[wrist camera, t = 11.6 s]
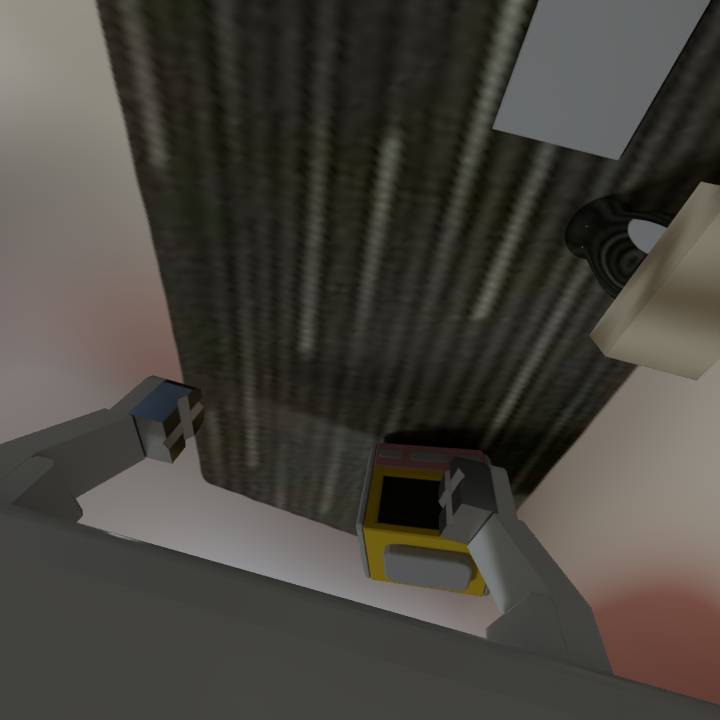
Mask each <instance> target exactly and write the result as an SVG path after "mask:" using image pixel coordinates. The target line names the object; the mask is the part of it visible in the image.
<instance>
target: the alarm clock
mask: <svg viewBox="0 0 720 720" xmlns="http://www.w3.org/2000/svg"><path fill="white" fill-rule="evenodd" d="M455 456H458V457H462V458H466V459H470V460H474V461H477V462H481V463H485V464H489V465H491V460H490V459H489V457H488V456H487V455H485V454H484V453H483V452H482V450H469V449H456V448H442V447H429V446H415V445H402V444H394V443H391V444H389V443H378V444H377V445H376V446H374V447H373V448H372V449H371V450H370V454H369V459H368V465H367V470H366V475H365V480H364V486H363V491H362V496H361V501H360V506H359V512H358V517H357V522H356V528H357V534H358V539H359V545H360V551H361V556H362V562H363V568H364V572H365V574H366V576H367V577H368V578H370V577H371V579H373V580H379V581H386V582H392V583H398V584H405V585H412V586H418V587H424V588H431V589H438V590H444V591H450V592H457V593H463V594H469V595H476V596H483V594H484V596H487V595H489V593H490V590H489V588H488V586H487V585H486V583H485V581H484V579H483V577H482V575H481V573H480V571H479V569H478V567H477V565H476V563H475V561H474V559H473V557H472V555H471V553H470V552H469V550H468V548H467V546H468V545H465V544H462V543H458V542H455V541H452V540H449V539H445V538H442V537H439V514H440V513H441V511H442V509H443V508H442V506H441V505H440V503H439V486H440V482H441V478H442V476H443V474H444V472H446V471H448V470H450V462H451V460H452V458H453V457H455Z"/></svg>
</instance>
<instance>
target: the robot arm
mask: <svg viewBox="0 0 720 720" xmlns="http://www.w3.org/2000/svg"><path fill="white" fill-rule="evenodd" d="M201 398H202V394H201V390H200V389H198V388H195V387H192V386H189V385H185V384H182V383H178V382H175V381H171V380H167V379H163V378H160V377H157V376H150V377H147V378H146V379H145V380H143V382H141V383H140V384H139V385H138V386H136V387H135V388H134V389H133V390H132V391H131V392H130V393H128V394H127V395H126V396H125V397H124V398H123V399H121V400H120V401H119V402H118V403H117V404H116V405H114V406H113V407H112V408H111V409H102V410H99V411H96V412H93V413H90V414H87V415H84V416H81V417H78V418H76V419H72V420H70V421H67V422H64V423H61V424H58V425H55V426H52V427H49V428H47V429H43V430H40V431H37V432H34V433H32V434H29V435H26V436H23V437H20V438H17V439H14V440H11V441H8V442H5V443H3V444H0V720H720V705H719V704H715V703H712V702H708V701H704V700H701V699H697V698H694V697H690V696H687V695H683V694H679V693H676V692H673V691H669V690H666V689H662V688H659V687H655V686H651V685H648V684H645V683H641V682H638V681H634V680H630V679H627V678H623V677H620V676H616V675H614V674H613V671H612V668H611V666H610V662H609V659H608V656H607V654H606V651H605V648H604V645H603V642H602V639H601V636H600V633H599V630H598V627H597V624H596V621H595V618H594V615H593V612H592V609H591V607H590V606H589V605H588V603H587V602H586V601H585V599H584V598H583V597H582V596H581V594H580V593H579V592H578V590H577V589H576V588H575V587H574V585H573V584H572V583H571V582H570V580H569V579H568V578H567V577H566V575H565V574H564V573H563V571H562V570H561V569H560V568H559V566H558V565H557V564H556V562H555V561H554V560H553V559H552V557H551V556H550V555H549V554H548V552H547V551H546V550H545V549H544V547H543V546H542V545H541V543H540V542H539V541H538V540H537V538H536V537H535V536H534V534H533V533H532V532H531V531H530V529H529V528H528V527H527V526H526V524H525V523H524V522H523V521H521V520H518V518H517V514H516V509H515V505H514V501H513V496H512V492H511V488H510V484H509V479H508V475H507V472H506V470H505V469H504V468H500V467H496V466H493V465H489V464H485V463H481V462H477V461H474V460H470V459H466V458H462V457H458V456H455V457H453V458H452V460H451V462H450V470H448V471H446V472H444V474H443V476H442V478H441V482H440V486H439V503H440V505H441V506H442V508H443V509H442V511H441V513H440V514H439V537H442V538H445V539H449V540H452V541H455V542H458V543H462V544H465V545H468V546H467V548H468V550H469V552H470V553H471V555H472V557H473V559H474V561H475V563H476V565H477V567H478V569H479V571H480V573H481V575H482V577H483V579H484V581H485V583H486V585H487V586H488V588H489V590H490V592H491V594H492V596H493V598H494V600H495V602H496V604H497V606H498V608H499V610H500V612H501V614H502V616H501V617H500V618H498V619H497V620H496V621H494V622H493V623H492V624H491V625H490V626H489V627H487V628H486V635H487V639H486V638H482V637H479V636H475V635H472V634H468V633H464V632H461V631H457V630H454V629H451V628H447V627H443V626H440V625H436V624H433V623H429V622H425V621H422V620H418V619H415V618H412V617H408V616H405V615H401V614H398V613H394V612H391V611H387V610H383V609H380V608H376V607H373V606H369V605H366V604H362V603H359V602H355V601H352V600H348V599H345V598H341V597H337V596H334V595H331V594H327V593H323V592H320V591H316V590H313V589H309V588H306V587H302V586H299V585H295V584H292V583H288V582H285V581H281V580H278V579H274V578H271V577H267V576H263V575H260V574H256V573H253V572H249V571H246V570H242V569H239V568H235V567H231V566H228V565H224V564H221V563H218V562H214V561H210V560H207V559H204V558H200V557H196V556H193V555H189V554H186V553H182V552H178V551H175V550H172V549H168V548H165V547H161V546H157V545H154V544H151V543H147V542H143V541H140V540H136V539H133V538H129V537H125V536H122V535H119V534H115V533H112V532H108V531H104V530H101V529H97V528H93V527H90V526H87V525H83V524H79V523H77V521H78V520H79V519H80V518H81V517H82V516H83V510H82V509H81V507H80V505H79V503H78V502H77V500H76V498H77V497H79V496H80V495H82V494H84V493H86V492H87V491H89V490H91V489H92V488H94V487H96V486H98V485H100V484H101V483H103V482H105V481H107V480H108V479H110V478H112V477H114V476H115V475H117V474H119V473H121V472H122V471H124V470H126V469H128V468H129V467H131V466H133V465H135V464H136V463H138V462H140V461H142V460H144V459H145V457H147V458H151V459H155V460H160V461H164V462H168V463H173V462H174V461H175V459H176V458H177V457H178V456H179V454H180V453H181V452H182V451H183V449H184V448H185V440H186V439H188V438H190V437H192V436H194V435H195V434H196V432H197V431H198V430H199V428H200V426H201V424H202V421H203V417H204V408H203V406H202V405H201V404H200V403H199V401H200V399H201Z"/></svg>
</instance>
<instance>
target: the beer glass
mask: <svg viewBox="0 0 720 720" xmlns="http://www.w3.org/2000/svg"><path fill="white" fill-rule="evenodd" d="M675 217H676V214H672V213H665V212H656V211H633V210H632V209H631V208H630V206H629V205H628V204H626V203H625V202H624V201H622V200H619V199H616V198H602V199H598V200H595V201H592V202H590V203H588V204H586V205H585V206H583V207H582V208H581V209H580V210H578V211H577V212H576V213H575V215H574V216H573V217H572V218H571V220H570V222H569V223H568V226H567V228H566V232H565V242H566V245H567V248H568V249H569V251H570V252H571V253H572V254H574V255H575V256H577V257H579V258H582V259H585V260H587V261H588V264H589V266H590V268H591V270H592V272H593V275H594V276H595V278H596V280H597V281H598V283H599V284H600V286H601V287H602V288H603V289H604V290H605V291H606V292H607V293H608V294H609V295H610V296H611V297H612V298H613V299H616V298H617V296H618V295H619V294H620V292H621V291H622V289H623V288H624V287H625V285H626V284H627V283H628V281H629V280H630V278H631V277H632V276H633V274H634V273H635V272H636V270H637V269H638V267H639V266H640V265H641V263H642V262H643V261H644V259H645V258H646V257H647V255H648V254H649V252H650V251H651V250H652V248H653V247H654V246H655V244H656V243H657V241H658V240H659V239H660V237H661V236H662V235H663V233H664V232H665V230H666V229H667V228H668V226H669V225H670V224H671V222H672V221H673V219H674V218H675Z"/></svg>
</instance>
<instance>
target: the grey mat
mask: <svg viewBox="0 0 720 720" xmlns="http://www.w3.org/2000/svg"><path fill="white" fill-rule="evenodd" d="M709 2H710V0H539V1H538V4H537V6H536V9H535V12H534V15H533V18H532V20H531V23H530V26H529V29H528V31H527V34H526V37H525V40H524V42H523V45H522V48H521V51H520V53H519V56H518V59H517V62H516V64H515V67H514V70H513V73H512V75H511V78H510V81H509V84H508V86H507V89H506V92H505V95H504V97H503V100H502V103H501V106H500V108H499V111H498V114H497V117H496V120H495V122H494V125H493V128H492V129H496V130H500V131H504V132H508V133H512V134H516V135H520V136H524V137H528V138H532V139H536V140H539V141H543V142H547V143H551V144H555V145H559V146H563V147H567V148H571V149H575V150H579V151H583V152H587V153H591V154H595V155H599V156H603V157H607V158H611V159H615V160H619V158H620V156H621V154H622V153H623V151H624V149H625V148H626V146H627V144H628V142H629V141H630V139H631V137H632V135H633V134H634V132H635V130H636V128H637V127H638V125H639V123H640V122H641V120H642V118H643V116H644V115H645V113H646V111H647V109H648V108H649V106H650V104H651V103H652V101H653V99H654V97H655V96H656V94H657V92H658V90H659V89H660V87H661V85H662V83H663V82H664V80H665V78H666V77H667V75H668V73H669V71H670V70H671V68H672V66H673V64H674V63H675V61H676V59H677V57H678V56H679V54H680V52H681V51H682V49H683V47H684V45H685V44H686V42H687V40H688V38H689V37H690V35H691V33H692V31H693V30H694V28H695V26H696V25H697V23H698V21H699V19H700V18H701V16H702V14H703V12H704V11H705V9H706V7H707V6H708V4H709Z"/></svg>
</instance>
